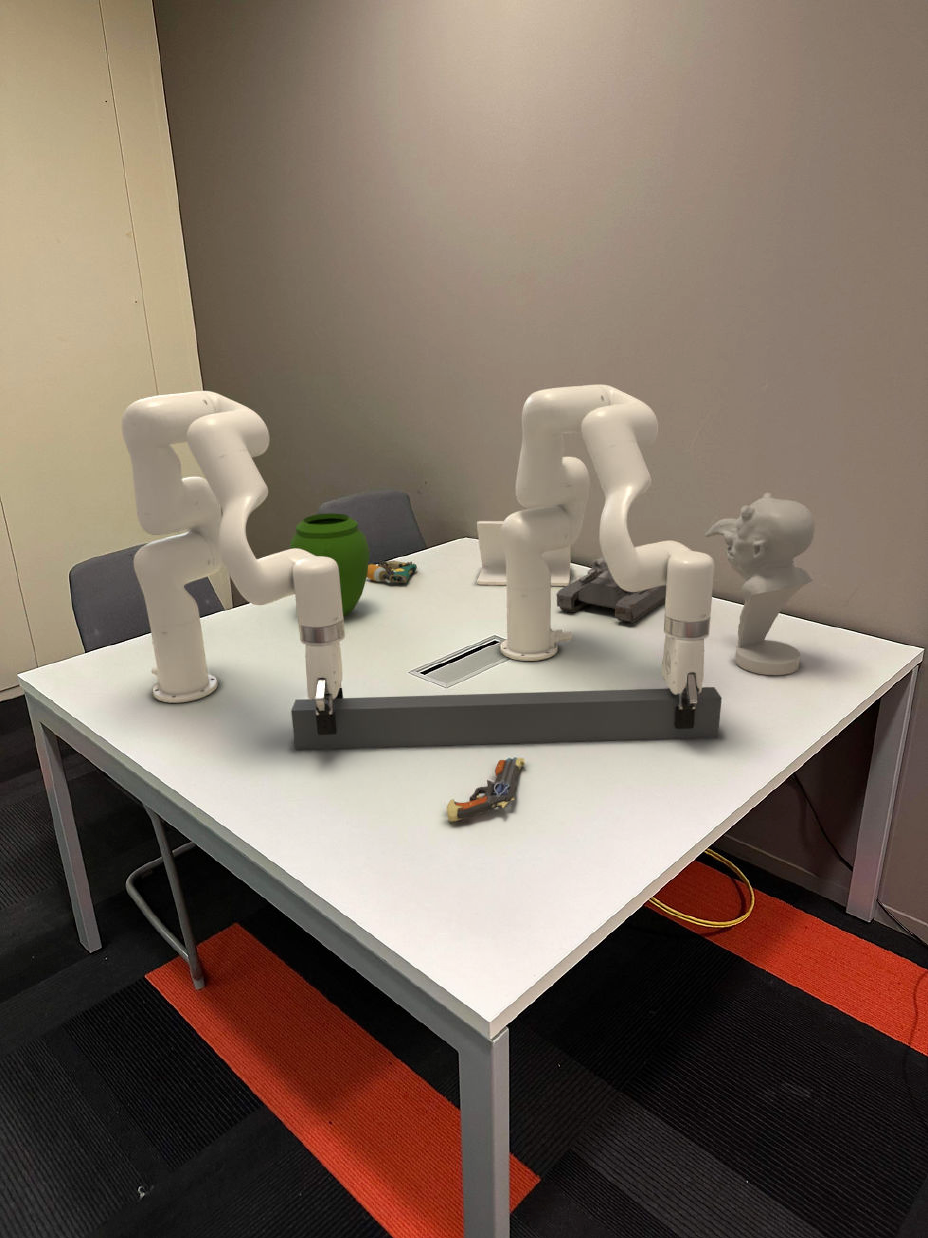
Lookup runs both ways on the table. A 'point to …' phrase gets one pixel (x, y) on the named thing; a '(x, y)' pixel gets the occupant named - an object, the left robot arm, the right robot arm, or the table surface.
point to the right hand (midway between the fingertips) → (680, 720)
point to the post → (504, 718)
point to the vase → (337, 551)
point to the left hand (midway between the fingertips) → (331, 720)
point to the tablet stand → (496, 562)
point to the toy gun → (490, 792)
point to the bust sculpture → (766, 576)
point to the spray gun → (391, 571)
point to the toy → (609, 594)
